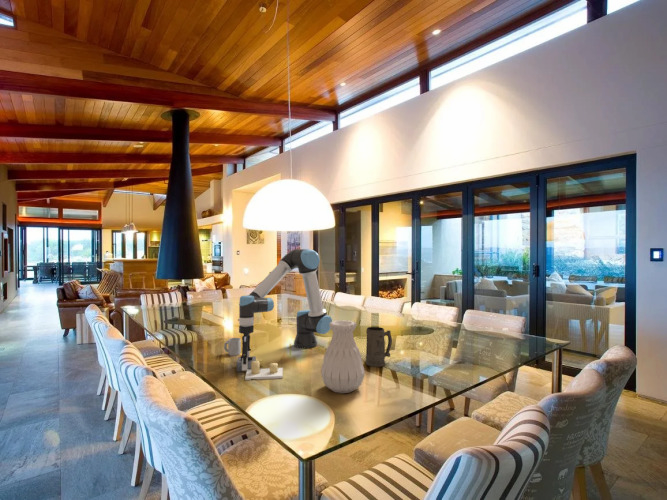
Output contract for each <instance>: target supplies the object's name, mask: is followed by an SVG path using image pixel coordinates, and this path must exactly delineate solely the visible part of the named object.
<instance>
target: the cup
mask: <svg viewBox="0 0 667 500" xmlns="http://www.w3.org/2000/svg"><path fill="white" fill-rule="evenodd" d="M241 340H242V338H240V337H230V338H228V340H227V341H225V342H224V344H223V349H224V352H226V353H228V354H227V355H228V356H232V357H235V356H239V355H240V354H242V349H241V348H242V345H241V344H242V341H241Z"/></svg>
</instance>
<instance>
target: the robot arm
mask: <svg viewBox="0 0 667 500" xmlns="http://www.w3.org/2000/svg"><path fill="white" fill-rule="evenodd" d="M320 260H321V259H320V255H319V254H318V252H317V251H315V250H313V249H309V248H303V249H301V248H300V249H299V248H295V249H292V250H289V252H287V253H286V254H285V255H284V256H283V257H282V258H281V259H279V261H278V264H277V265H276V266H275V268H273V269H272V271H271V272H270V273H268V274H267V276H266V277H265V278H264V279H263V280H262V281H261V282H259V284H258V285H257V286H256V287H255V288H253V290H252V291H251V292H250V293H249V294H247V295H241V296H240V297H239V302H238V305H239V306H238V307H239V310H238V311H239V314H238V315H239V317H238V319H237V321H239V322H238V323H239V324H238V325H239V326H238V332H239V334H243V335H242V337H241V340H242V341H241V344H242V345H241V348H242V349H241V356H240V357H241V358H242V371H244V370H247V367H248V357H250V355H251V354H250V353H251V351H252V349H251V347H250V346H251V343H250V342H251V335H250V334H253V333H254V331H255V329H254V327H255V325H254V324H255V314H257V313H258V314H259V313H266V312H271V311H273V309H274V307H275V301H274V299H273V298H272V297H266V296H267V295H268V294H269V293H270V292H271V291H272V290H273V288H275V287H276V286H277V284H278V283H279V282H280V281H281V280H282V279H283V278H284V277H285V276H286V275H287V274H288V273H291V272H292V271H293V270H294V269H297V270H298V273H299V274H300V275H301V276H302V281H303V286H304V290H305V295H306V299H307V304H308V307H309V309H305V310H298V311H297V312H296V317H295V318H296V335H295V338H294V340H293V347H295V348H297V349H312V348H315V347H318V341H317V337H316V335H315V333H317V334H319V335H326V334H327V333H329V332H330V330H332V329H331V328H330V326H329V323H330V322H333V319H332V317H331V316H329V315H328V313H327V310H326V308H324V305H323V300H322V296H321V290H320V285H319V282H318V275H317V271H318V267H319V265H320ZM244 372H245V371H244Z"/></svg>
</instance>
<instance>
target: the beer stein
mask: <svg viewBox="0 0 667 500" xmlns="http://www.w3.org/2000/svg"><path fill="white" fill-rule="evenodd" d="M365 332H366V348H365V349H366V350H365V354H366V355H365V365H367V366H369V367H373V368H374V367H375V368H377V367H383V366H385V365H386V360H385V359H386V357H388V358H391V353H390V350H391V347H392V344H393V338H392V334H391V330H386V331H385V329H384V328H383V327H379V326H368V327H367V328H366V331H365ZM385 336H387V338H388V341H387V347H386V341H385Z"/></svg>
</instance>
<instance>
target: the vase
mask: <svg viewBox="0 0 667 500" xmlns="http://www.w3.org/2000/svg"><path fill="white" fill-rule="evenodd" d="M329 326H330V328H331V329H330V330H331V331H332V336H331V338H330V339H331V340H330V343H329V344H328V346H327V348H326V351H325V353H324V355H323V362H322V365H321V370H320V373H321V378H322V381H323V384H324V385H325V386H326V388H328V389H329V390H330V391H332V392H335V393H338V394H347V393H352V392H353V391H355V390H357V389H358V388H360V386H361V385H362V384H363V380H364V378H365V374H366V371H365V368H364V361H363V357H362V354H361V352H360V349H359V347H358V345H357V343H356V341H355V337H354V331H355V330H356V328H357V322H356V321H352V320H343V319H342V320H339V319H337V320H332V322H330V323H329Z"/></svg>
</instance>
